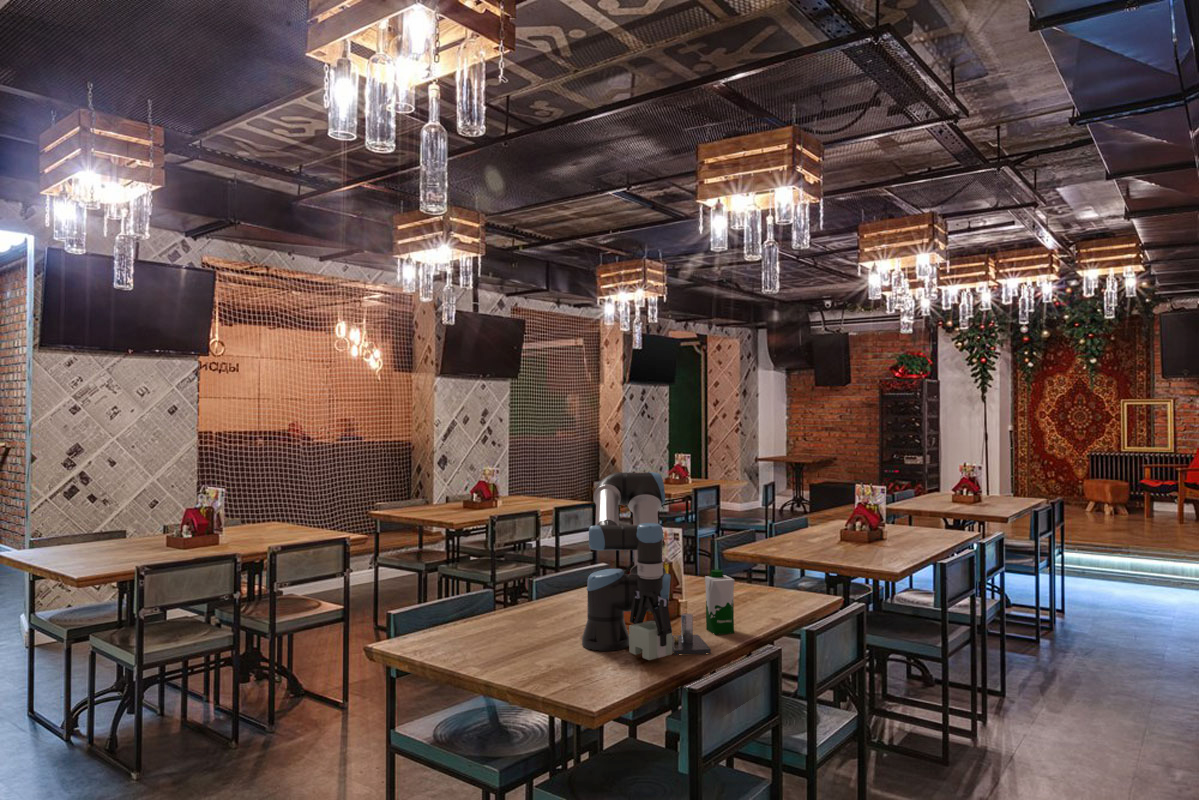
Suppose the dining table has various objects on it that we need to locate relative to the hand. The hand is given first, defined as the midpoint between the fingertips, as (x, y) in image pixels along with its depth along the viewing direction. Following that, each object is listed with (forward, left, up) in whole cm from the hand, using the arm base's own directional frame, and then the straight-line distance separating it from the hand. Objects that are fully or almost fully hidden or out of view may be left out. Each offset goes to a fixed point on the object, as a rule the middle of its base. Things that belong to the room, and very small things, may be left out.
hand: (650, 652), depth 232 cm
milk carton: (+29, +29, -3) cm, 41 cm away
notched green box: (0, 0, 0) cm, 0 cm away
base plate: (+14, +13, -3) cm, 19 cm away
